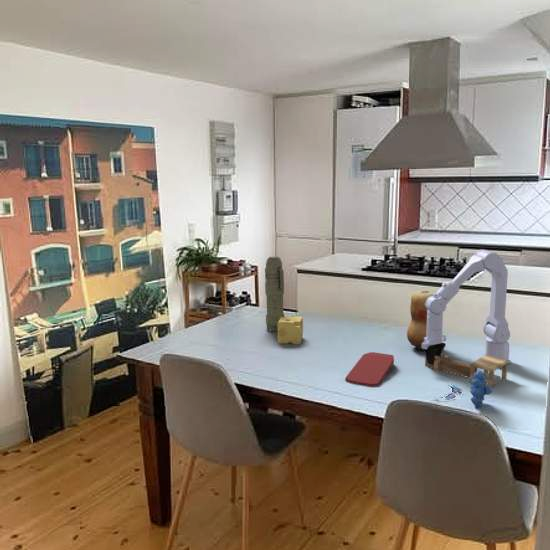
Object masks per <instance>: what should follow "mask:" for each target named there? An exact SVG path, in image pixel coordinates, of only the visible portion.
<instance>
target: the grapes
mask: <svg viewBox="0 0 550 550" xmlns="http://www.w3.org/2000/svg"><path fill="white" fill-rule="evenodd" d="M473 377H474V378H475V379H474V380H472V381H471V383H470V384H472V385H471V386H470V387H469V388H470V391H469V392H470V394H471V395H472V397H470V401H471V403H472V404H473V405H474V407H476V408H480V407H481V406H482V405H483V404H484V400H485V396H487V395H488V396H489V395H491V394H492V393H493V392H494V390H493V388H490V386H488V384H486V383H485V382H486V381H485V379H484V377H485V375H484V371H482V370H477V372H476V373H474V374H473Z"/></svg>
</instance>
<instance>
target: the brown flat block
mask: <svg viewBox="0 0 550 550" xmlns="http://www.w3.org/2000/svg"><path fill="white" fill-rule="evenodd" d="M483 373H484V375H485V377H484V379H485V381H486V382H485V383H488V382H489V372H488V373H485V372H484V371H483ZM501 380H502V375H497V374H494V382H493V386H494V385H496V384H497V383H499V382H501ZM498 381H499V382H498ZM495 383H496V384H495Z"/></svg>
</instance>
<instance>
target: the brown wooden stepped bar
mask: <svg viewBox="0 0 550 550" xmlns="http://www.w3.org/2000/svg"><path fill="white" fill-rule="evenodd" d="M424 357H425V360H424V366H425V367H427V366H428V368H431V367H432V369H433V372H437V371H438V372H439V370H440V371H442V370H445V371H444V372H446V371H448V373H450V372H452V373H451V374H454V373H456V374H455V375H457V374H459V376H461V375H463V377H465V376H467V377H466V378H469V377H470V369H471V366H470V363H469V362H464V361H460V360H456V359H452V358H449V355H444V356H441V357H440V356H436V355H435V360H434V364H433V365H431V364H428V362H427V358H426V355H425V356H424ZM476 372H478V368H475V373H476Z"/></svg>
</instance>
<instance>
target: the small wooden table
mask: <svg viewBox="0 0 550 550" xmlns="http://www.w3.org/2000/svg"><path fill="white" fill-rule="evenodd" d="M507 363H508V360H506V359H501V358H497V357H492V356H488V355H483V356H482V357H480V358H478V359H475V360H474V361H472V362H470V363H469V364H470V366H471V369H470V378H469V383H470V382H471V381H472V380H474V379H475V378H474V377H473V374H474V373H475V368H477V369H480V370H483V373H484V372H485V373H489V382H488V384H487V385H488V386H490V388H491V389H493V388H494V385H493V382H494V375H495V371H497V370H499V369H501V380H503V379H504V380H505V381H506V380H507V375H508V374H507V373H508V364H509V363H508V364H507ZM501 366H502V367H501ZM500 367H501V368H500Z"/></svg>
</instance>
